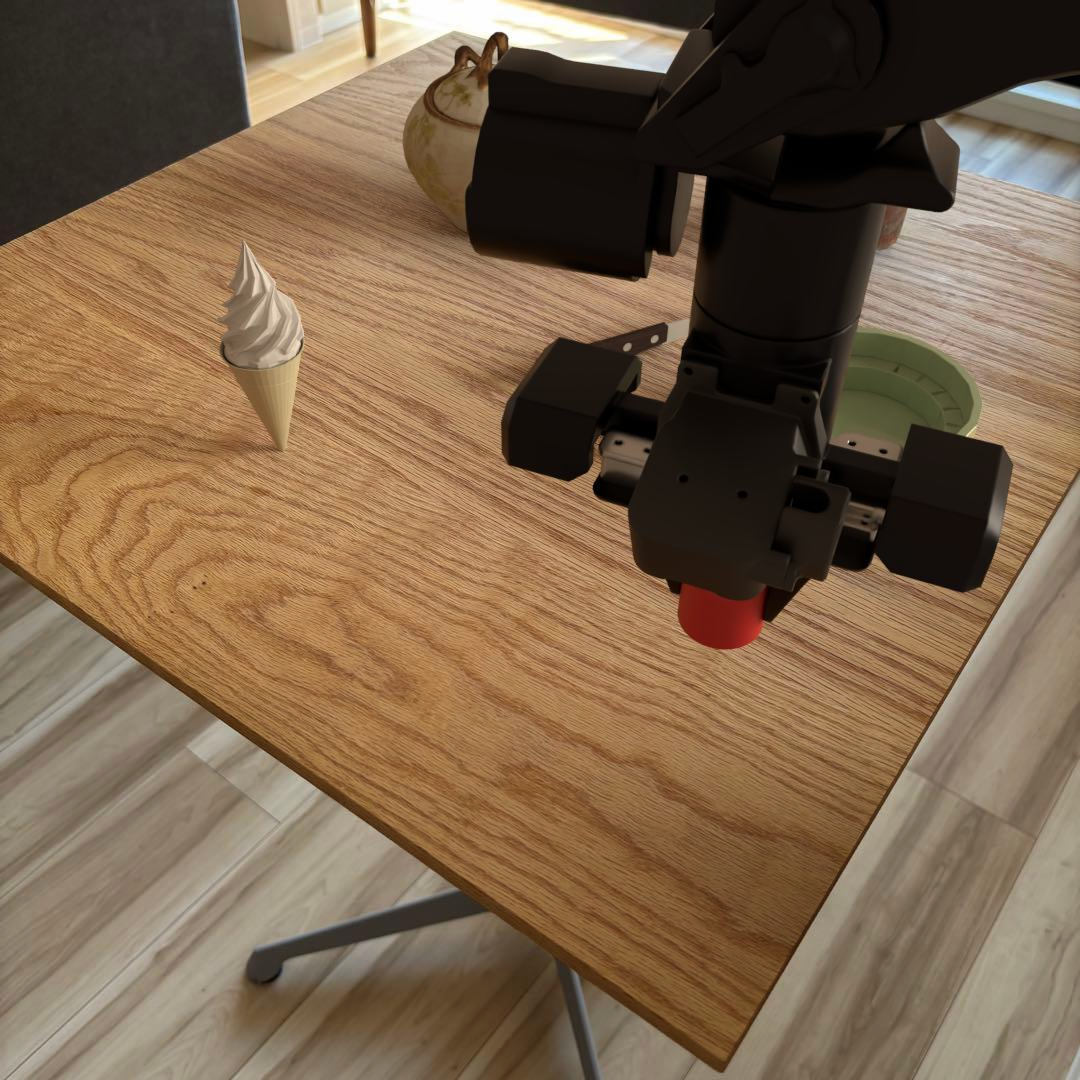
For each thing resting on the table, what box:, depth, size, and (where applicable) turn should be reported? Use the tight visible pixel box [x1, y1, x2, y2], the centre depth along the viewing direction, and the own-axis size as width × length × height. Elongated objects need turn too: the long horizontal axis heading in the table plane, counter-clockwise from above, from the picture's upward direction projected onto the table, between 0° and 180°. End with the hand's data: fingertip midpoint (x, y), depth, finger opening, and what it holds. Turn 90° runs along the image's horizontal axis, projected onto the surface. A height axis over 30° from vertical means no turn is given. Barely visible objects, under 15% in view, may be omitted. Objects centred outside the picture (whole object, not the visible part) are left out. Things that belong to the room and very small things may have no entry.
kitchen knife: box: [534, 316, 690, 362], centre depth 81 cm, size 18×1×2 cm, turn 117°
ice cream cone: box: [215, 239, 306, 452], centre depth 68 cm, size 5×5×15 cm
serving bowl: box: [831, 326, 984, 460], centre depth 73 cm, size 13×13×4 cm
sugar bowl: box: [402, 31, 510, 234], centre depth 90 cm, size 20×15×15 cm
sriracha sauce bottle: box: [677, 583, 771, 651], centre depth 48 cm, size 4×4×5 cm
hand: (722, 600), depth 50 cm, fingers closed on sriracha sauce bottle, 4 cm apart
